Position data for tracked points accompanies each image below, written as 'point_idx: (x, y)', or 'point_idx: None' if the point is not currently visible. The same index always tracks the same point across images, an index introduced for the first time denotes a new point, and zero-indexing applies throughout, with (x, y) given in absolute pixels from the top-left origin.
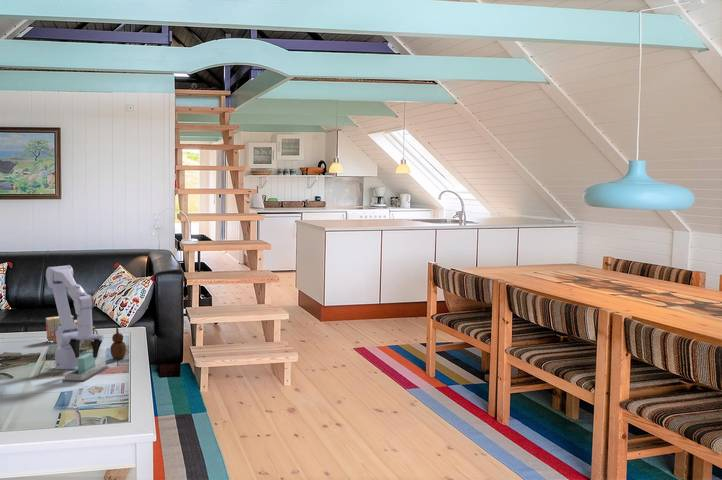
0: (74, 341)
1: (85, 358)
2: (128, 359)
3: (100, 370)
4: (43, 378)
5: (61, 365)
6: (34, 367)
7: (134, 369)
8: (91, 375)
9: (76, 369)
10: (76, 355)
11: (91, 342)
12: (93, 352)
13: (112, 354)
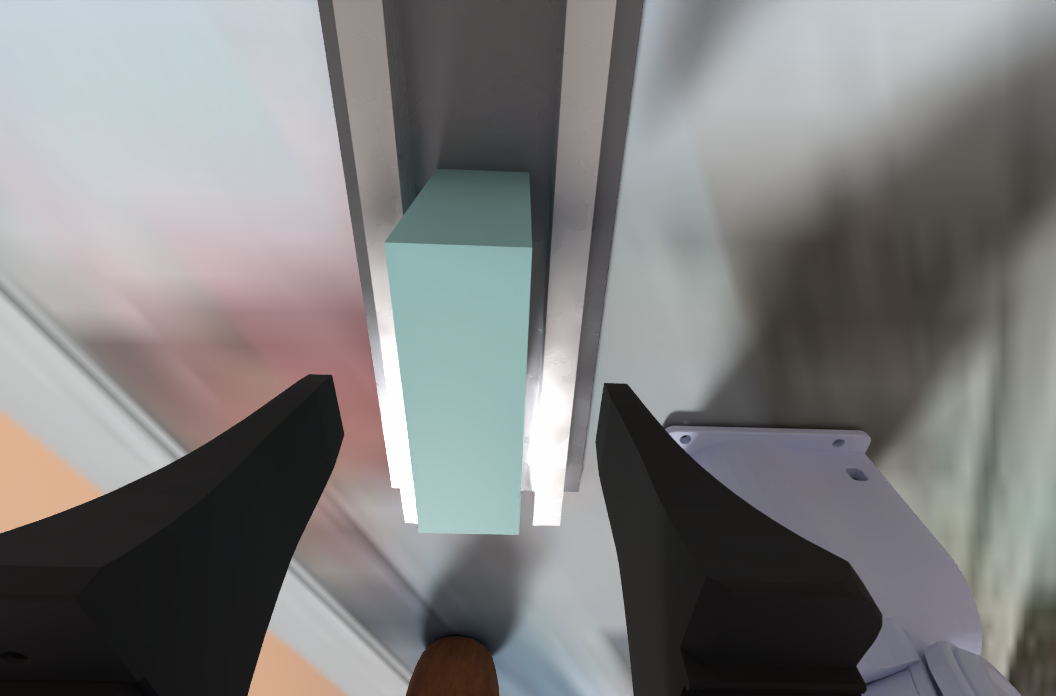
0: (725, 664)
1: (391, 277)
2: (375, 634)
3: (375, 361)
4: (956, 90)
5: (819, 466)
6: (1051, 486)
7: (108, 426)
8: (350, 158)
9: (572, 238)
10: (615, 398)
11: (76, 577)
12: (272, 420)
13: (478, 669)
